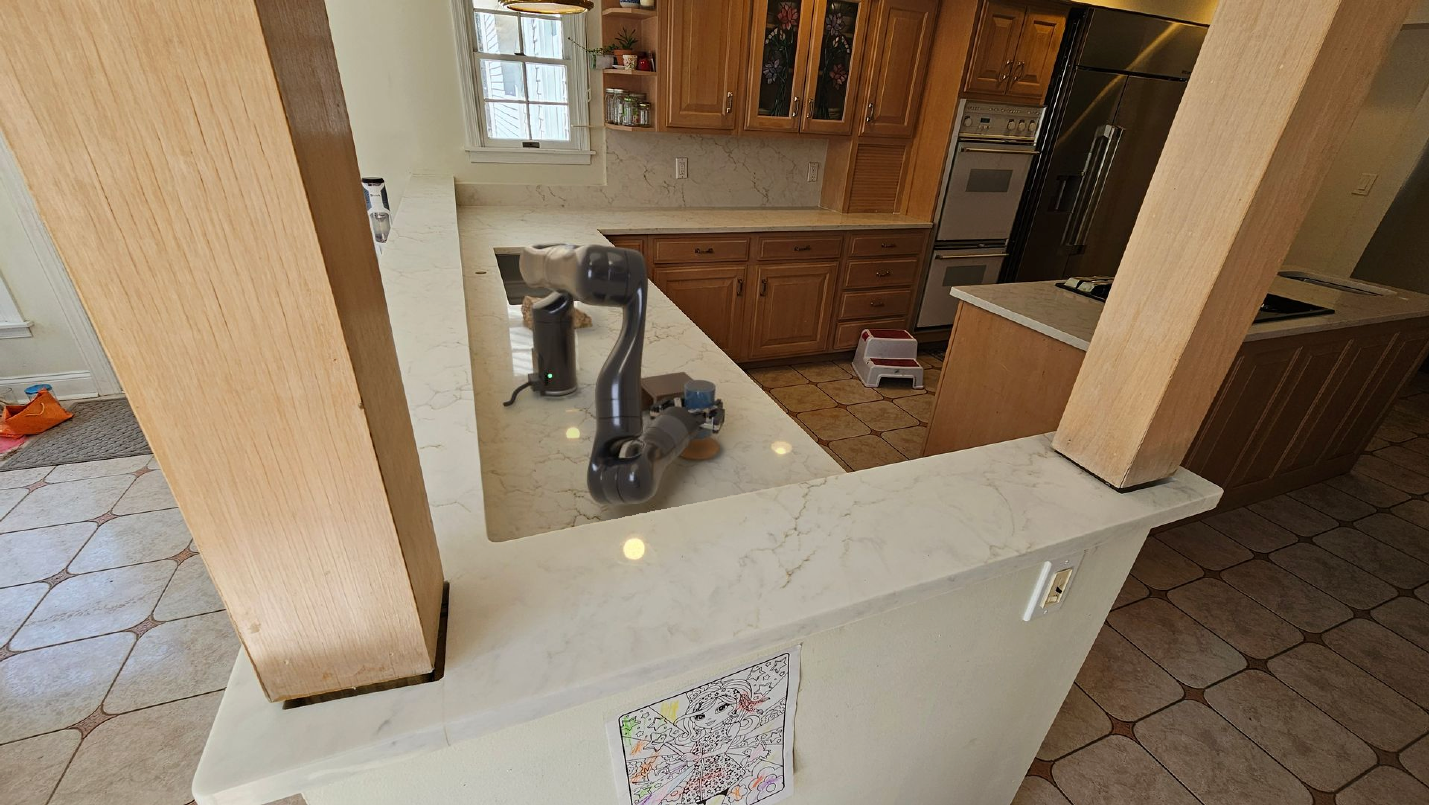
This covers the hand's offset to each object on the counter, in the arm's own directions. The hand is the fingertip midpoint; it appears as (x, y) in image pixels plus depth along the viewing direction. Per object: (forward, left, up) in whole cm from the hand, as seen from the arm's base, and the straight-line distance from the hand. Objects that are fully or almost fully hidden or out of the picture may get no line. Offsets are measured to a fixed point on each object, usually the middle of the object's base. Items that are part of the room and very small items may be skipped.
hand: (703, 400), depth 120 cm
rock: (-8, +77, -10) cm, 78 cm away
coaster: (-2, -1, -10) cm, 10 cm away
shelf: (-1, +14, -10) cm, 17 cm away
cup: (-2, -2, -6) cm, 6 cm away
